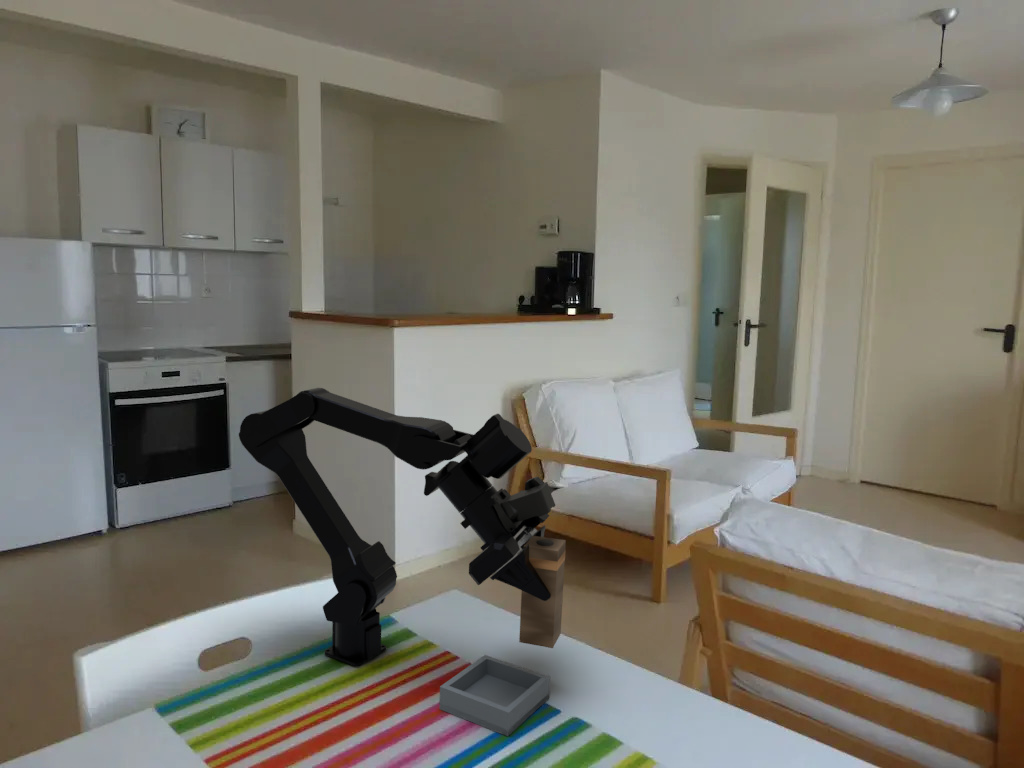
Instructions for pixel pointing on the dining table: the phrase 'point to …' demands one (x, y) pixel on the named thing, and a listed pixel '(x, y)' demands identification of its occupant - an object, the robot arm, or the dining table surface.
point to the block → (545, 616)
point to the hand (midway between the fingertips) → (552, 591)
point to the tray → (495, 694)
